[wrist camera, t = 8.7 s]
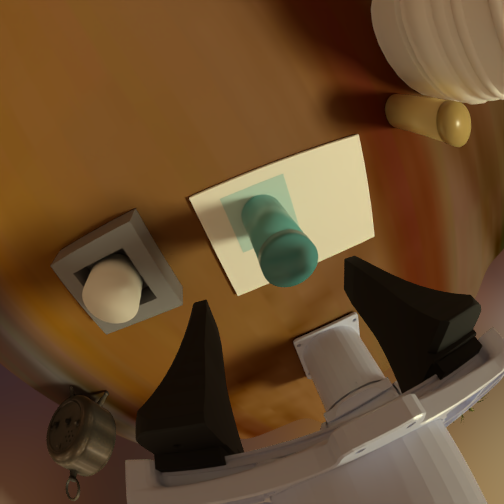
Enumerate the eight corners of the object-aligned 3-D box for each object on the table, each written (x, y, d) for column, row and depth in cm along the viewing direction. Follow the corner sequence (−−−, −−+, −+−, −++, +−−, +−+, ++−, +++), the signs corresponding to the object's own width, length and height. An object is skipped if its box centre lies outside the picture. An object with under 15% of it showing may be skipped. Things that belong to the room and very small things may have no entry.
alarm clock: (75, 409, 31) (68, 502, 17) (48, 391, 28) (33, 489, 14) (121, 394, 30) (120, 508, 16) (91, 373, 27) (78, 497, 14)
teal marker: (287, 223, 22) (323, 272, 16) (250, 239, 22) (272, 295, 16) (274, 187, 21) (310, 227, 15) (233, 204, 21) (252, 252, 15)
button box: (182, 286, 24) (182, 304, 22) (110, 316, 24) (106, 334, 22) (135, 208, 19) (129, 221, 17) (60, 250, 19) (50, 265, 17)
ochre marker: (414, 125, 20) (472, 142, 14) (388, 132, 20) (447, 151, 14) (408, 90, 18) (468, 99, 13) (381, 95, 18) (442, 104, 13)
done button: (153, 287, 22) (150, 312, 19) (111, 305, 22) (105, 329, 19) (124, 244, 19) (116, 266, 17) (82, 266, 19) (71, 289, 17)
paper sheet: (372, 235, 25) (374, 236, 25) (237, 294, 25) (237, 296, 25) (356, 134, 20) (358, 134, 20) (189, 196, 20) (189, 198, 20)
